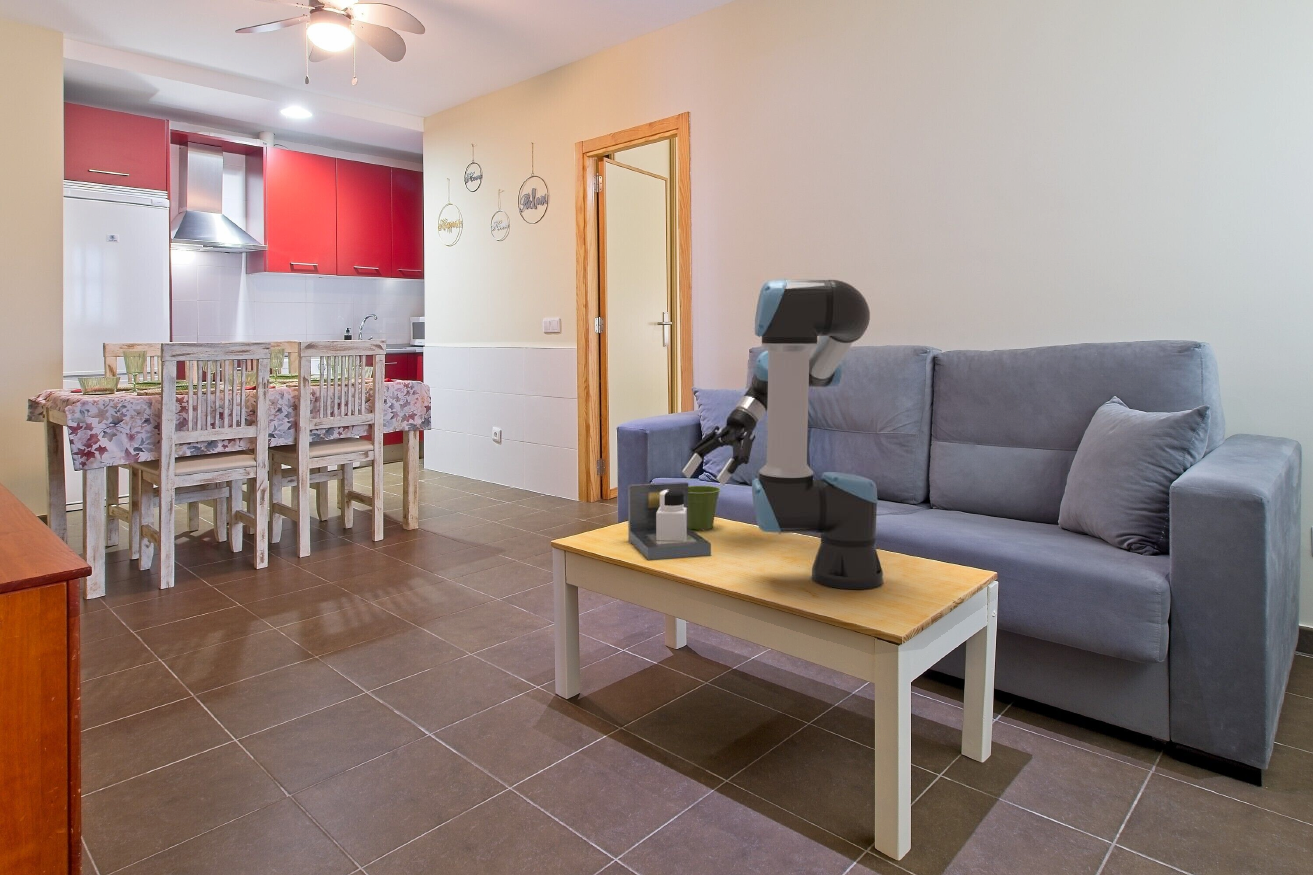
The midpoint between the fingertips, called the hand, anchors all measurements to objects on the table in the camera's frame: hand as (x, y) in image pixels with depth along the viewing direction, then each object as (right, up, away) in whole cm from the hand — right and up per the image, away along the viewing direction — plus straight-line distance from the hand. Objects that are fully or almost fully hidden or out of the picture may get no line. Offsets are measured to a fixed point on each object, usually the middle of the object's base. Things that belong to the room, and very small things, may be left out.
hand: (702, 478), depth 197 cm
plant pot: (0, -15, +21) cm, 26 cm away
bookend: (-9, -18, -1) cm, 20 cm away
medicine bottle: (-8, -15, -4) cm, 17 cm away
